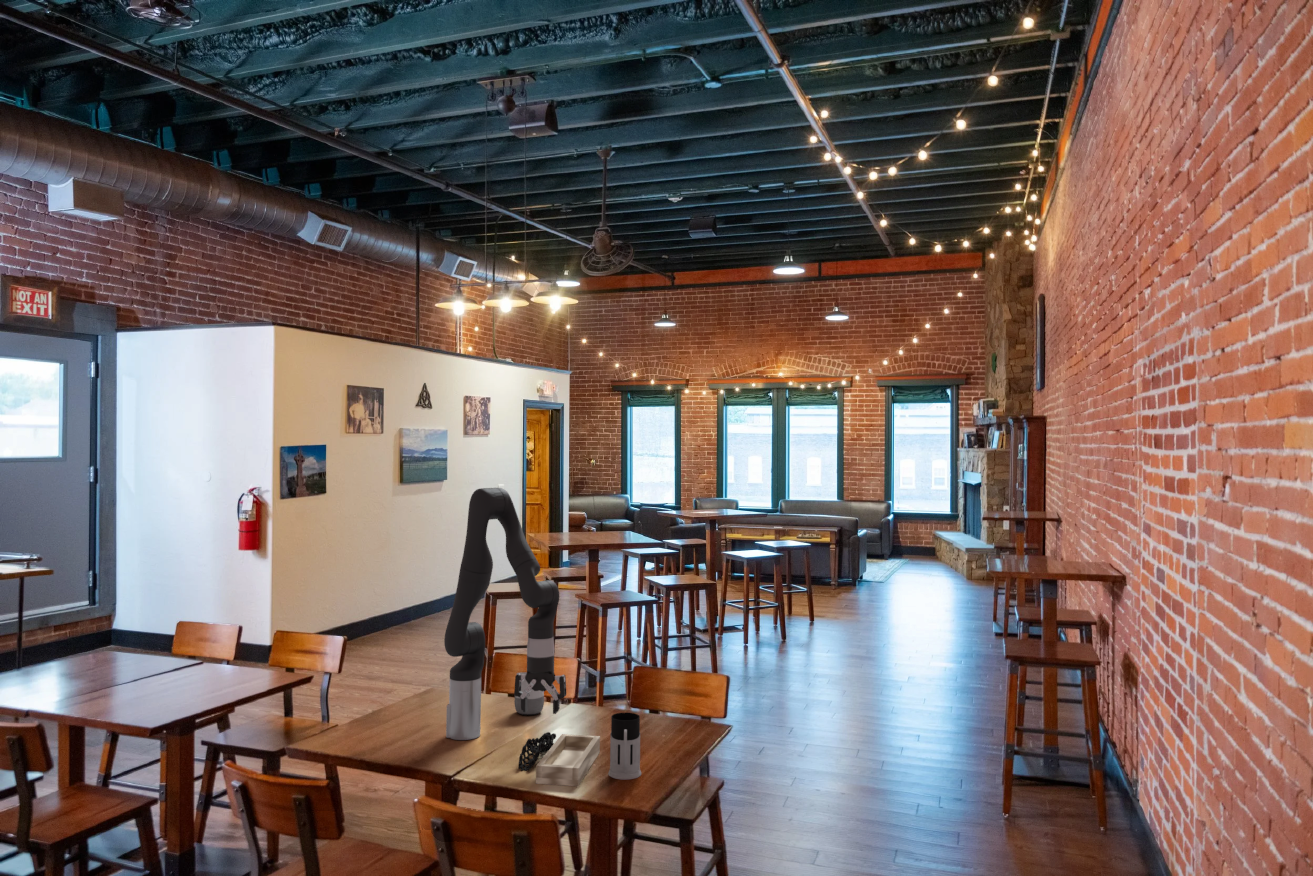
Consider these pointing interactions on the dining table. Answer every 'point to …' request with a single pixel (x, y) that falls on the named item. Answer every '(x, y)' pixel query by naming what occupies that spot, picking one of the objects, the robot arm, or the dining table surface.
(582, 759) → the rectangular tray
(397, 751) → the dining table surface
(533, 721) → the dining table surface
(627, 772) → the glass holder
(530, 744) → the decorative element
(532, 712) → the smart speaker
